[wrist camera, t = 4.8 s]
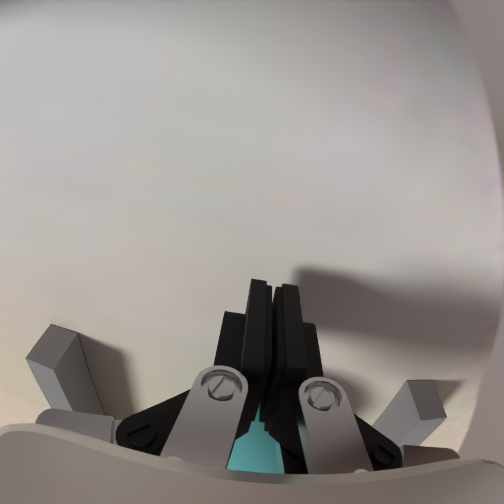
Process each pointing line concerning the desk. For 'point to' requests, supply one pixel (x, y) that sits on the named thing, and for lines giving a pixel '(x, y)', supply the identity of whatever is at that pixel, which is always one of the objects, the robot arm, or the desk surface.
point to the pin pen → (86, 401)
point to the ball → (255, 451)
